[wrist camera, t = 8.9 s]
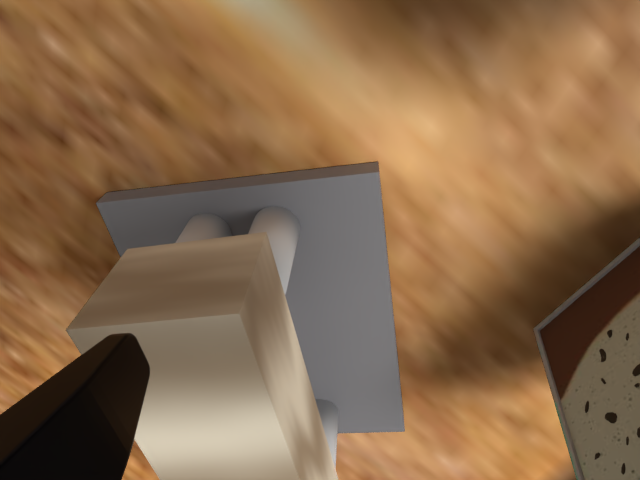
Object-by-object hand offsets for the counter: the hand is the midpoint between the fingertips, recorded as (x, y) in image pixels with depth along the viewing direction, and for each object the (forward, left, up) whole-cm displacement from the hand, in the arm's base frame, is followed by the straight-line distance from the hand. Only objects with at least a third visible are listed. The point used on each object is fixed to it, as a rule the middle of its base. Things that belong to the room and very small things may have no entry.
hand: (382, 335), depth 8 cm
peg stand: (+6, +10, -12) cm, 17 cm away
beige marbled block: (+6, +10, -7) cm, 14 cm away
